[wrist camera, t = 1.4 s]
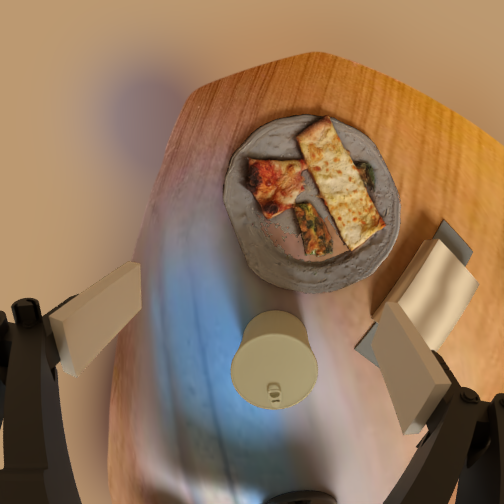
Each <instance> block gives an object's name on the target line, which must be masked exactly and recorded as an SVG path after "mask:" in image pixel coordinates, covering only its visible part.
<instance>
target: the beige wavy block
mask: <svg viewBox="0 0 504 504" xmlns="http://www.w3.org/2000/svg"><path fill="white" fill-rule="evenodd" d="M478 286H479V283H478V282H477V280H476V279H475V278H474V277H473V276H472V274H471V273H470V272H469V271H468V270H467V269H466V268H465V266H464V265H463V264H462V263H461V262H460V261H459V260H458V259H457V257H456V256H455V255H454V254H453V253H452V252H451V251H450V250H449V249H448V248H447V247H446V246H445V245H444V244H443V243H442V241H441V240H440V239H432V240H424V241H423V243H422V244H421V246H420V248H419V249H418V251H417V252H416V254H415V256H414V257H413V259H412V260H411V262H410V263H409V265H408V266H407V268H406V269H405V271H404V272H403V274H402V275H401V277H400V278H399V280H398V281H397V283H396V284H395V285H394V287H393V288H392V290H391V291H390V292H389V294H388V295H387V297H386V298H385V299H384V301H383V302H382V303H381V305H380V306H379V307H378V309H377V310H376V311H375V313H374V314H373V315H372V317H371V318H372V319H373V320H374V321H376V322H377V323H378V324H379V321H380V318H381V315H382V312H383V309H384V306H385V303H386V302H394V303H399V305H400V306H401V307H402V309H403V310H404V312H405V313H406V314H407V316H408V317H409V319H410V320H411V322H412V323H413V324H414V326H415V327H416V329H417V330H418V332H419V333H420V335H421V336H422V338H423V339H424V341H425V342H426V344H427V345H428V347H429V348H430V350H434V351H436V352H437V351H438V350H439V348H440V347H441V345H442V344H443V343H444V341H445V340H446V338H447V337H448V335H449V334H450V332H451V331H452V329H453V328H454V326H455V325H456V323H457V322H458V320H459V319H460V317H461V315H462V314H463V312H464V310H465V309H466V307H467V305H468V304H469V302H470V300H471V299H472V297H473V295H474V293H475V292H476V290H477V288H478Z"/></svg>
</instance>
